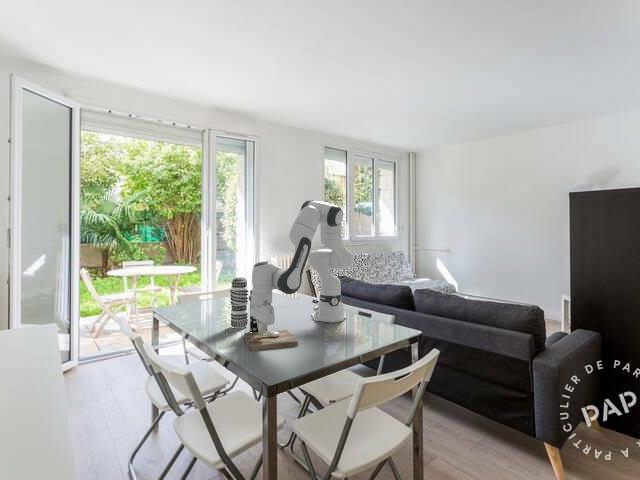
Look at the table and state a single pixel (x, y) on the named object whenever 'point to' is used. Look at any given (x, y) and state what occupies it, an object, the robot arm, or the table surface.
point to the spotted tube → (253, 322)
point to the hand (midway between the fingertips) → (261, 330)
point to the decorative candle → (239, 303)
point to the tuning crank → (261, 334)
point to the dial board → (270, 340)
